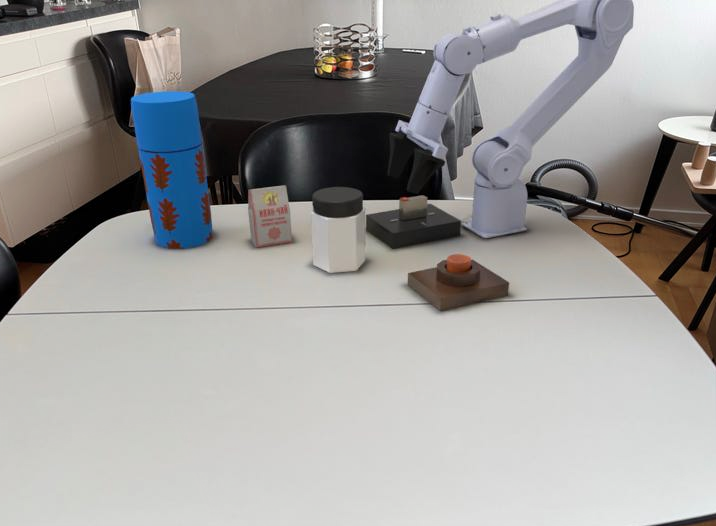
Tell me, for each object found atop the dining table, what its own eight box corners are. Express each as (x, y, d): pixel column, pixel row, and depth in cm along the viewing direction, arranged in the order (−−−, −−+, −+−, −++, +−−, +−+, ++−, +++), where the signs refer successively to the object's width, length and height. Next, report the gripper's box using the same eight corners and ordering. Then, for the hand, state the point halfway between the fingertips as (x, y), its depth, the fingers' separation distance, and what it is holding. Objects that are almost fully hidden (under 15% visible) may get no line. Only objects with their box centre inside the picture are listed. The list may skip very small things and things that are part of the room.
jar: (326, 251, 121) (324, 183, 115) (370, 256, 119) (370, 188, 112) (306, 270, 114) (303, 200, 108) (352, 276, 111) (351, 205, 105)
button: (461, 262, 107) (462, 252, 106) (474, 271, 104) (475, 260, 103) (442, 267, 105) (442, 256, 104) (454, 275, 102) (455, 264, 102)
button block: (471, 271, 112) (473, 248, 110) (508, 295, 105) (510, 271, 102) (407, 285, 108) (408, 262, 106) (440, 311, 100) (441, 286, 98)
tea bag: (251, 240, 126) (245, 187, 121) (286, 235, 128) (282, 182, 123) (256, 247, 123) (250, 193, 118) (292, 242, 125) (288, 188, 120)
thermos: (200, 250, 122) (179, 103, 109) (144, 247, 124) (118, 102, 111) (222, 229, 131) (205, 91, 118) (170, 226, 133) (148, 90, 120)
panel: (429, 218, 135) (430, 202, 133) (460, 236, 126) (461, 219, 124) (365, 229, 130) (365, 213, 128) (392, 249, 121) (393, 232, 120)
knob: (422, 214, 128) (423, 193, 126) (426, 216, 127) (427, 196, 125) (398, 218, 126) (399, 197, 124) (402, 220, 125) (403, 200, 123)
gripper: (394, 90, 119) (366, 164, 125) (436, 114, 108) (402, 194, 114) (426, 102, 123) (397, 173, 128) (469, 126, 112) (435, 203, 118)
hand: (402, 184), depth 122 cm, fingers open, 7 cm apart
